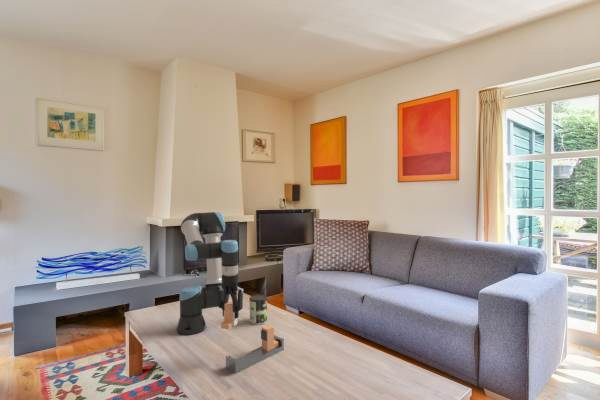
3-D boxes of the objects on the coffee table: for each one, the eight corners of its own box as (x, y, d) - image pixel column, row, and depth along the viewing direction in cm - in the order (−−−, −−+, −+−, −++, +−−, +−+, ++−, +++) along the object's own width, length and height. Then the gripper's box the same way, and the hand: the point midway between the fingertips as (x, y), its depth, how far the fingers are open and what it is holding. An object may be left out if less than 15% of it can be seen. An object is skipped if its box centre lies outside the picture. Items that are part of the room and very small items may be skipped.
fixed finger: (260, 349, 156) (260, 328, 156) (272, 343, 162) (272, 323, 161) (266, 351, 153) (265, 330, 153) (278, 345, 159) (278, 325, 158)
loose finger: (221, 328, 150) (220, 306, 150) (230, 321, 158) (230, 300, 157) (228, 329, 149) (228, 307, 148) (237, 322, 156) (237, 301, 156)
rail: (226, 367, 144) (225, 356, 143) (273, 344, 164) (273, 334, 164) (235, 373, 139) (235, 361, 139) (283, 349, 159) (283, 339, 159)
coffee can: (269, 318, 198) (269, 295, 197) (264, 325, 188) (264, 300, 187) (253, 317, 200) (252, 294, 199) (247, 324, 190) (246, 299, 189)
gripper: (209, 274, 153) (210, 324, 154) (241, 277, 147) (242, 329, 148) (219, 270, 160) (220, 318, 161) (250, 273, 154) (250, 323, 155)
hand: (230, 323), depth 154 cm, fingers closed on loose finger, 4 cm apart
